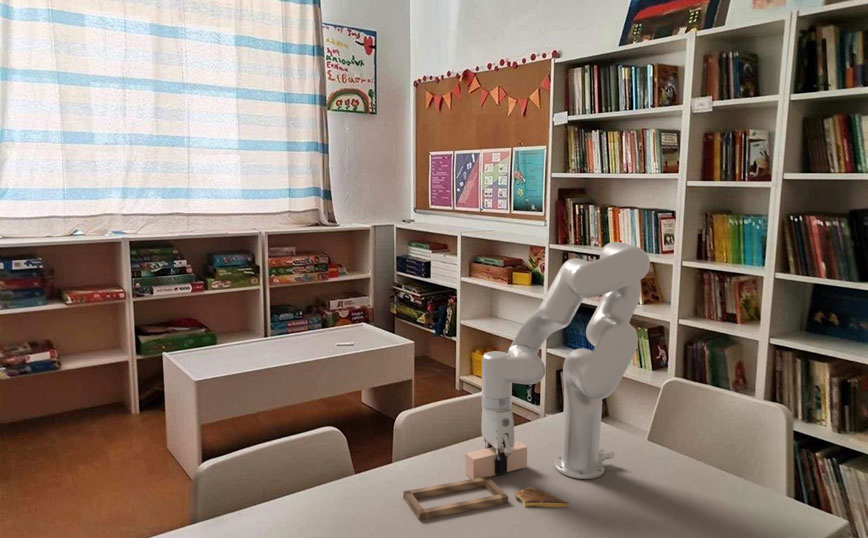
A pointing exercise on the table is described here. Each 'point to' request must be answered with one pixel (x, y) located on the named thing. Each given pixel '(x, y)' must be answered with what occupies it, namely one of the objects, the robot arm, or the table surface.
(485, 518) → the table surface
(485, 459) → the pink rectangular block
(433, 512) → the brown wooden frame
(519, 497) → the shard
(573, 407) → the robot arm
